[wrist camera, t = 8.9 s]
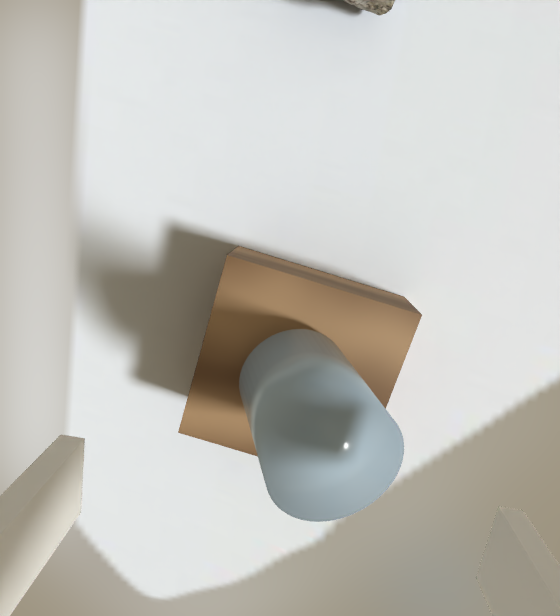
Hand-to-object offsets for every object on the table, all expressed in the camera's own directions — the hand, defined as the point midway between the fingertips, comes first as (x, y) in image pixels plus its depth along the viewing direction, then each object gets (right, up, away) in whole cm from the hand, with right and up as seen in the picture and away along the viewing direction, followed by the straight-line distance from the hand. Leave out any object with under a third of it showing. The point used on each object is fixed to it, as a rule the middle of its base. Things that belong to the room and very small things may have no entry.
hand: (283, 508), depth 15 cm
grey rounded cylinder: (+1, +2, +11) cm, 11 cm away
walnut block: (+1, +4, +17) cm, 17 cm away
